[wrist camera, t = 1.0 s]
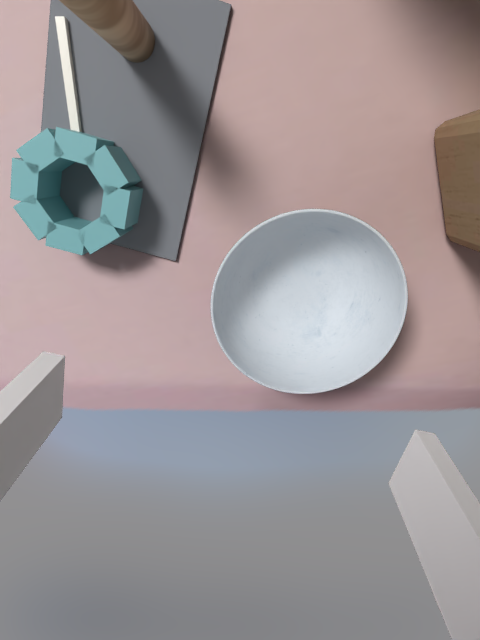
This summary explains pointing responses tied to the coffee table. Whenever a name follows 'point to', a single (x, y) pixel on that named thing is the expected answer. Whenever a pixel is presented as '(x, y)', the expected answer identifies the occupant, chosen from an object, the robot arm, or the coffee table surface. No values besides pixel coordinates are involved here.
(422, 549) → the robot arm
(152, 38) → the wooden rod
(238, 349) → the chinaware
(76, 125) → the white stick
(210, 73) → the mat
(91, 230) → the bead
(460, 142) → the wooden block
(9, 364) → the coffee table surface
